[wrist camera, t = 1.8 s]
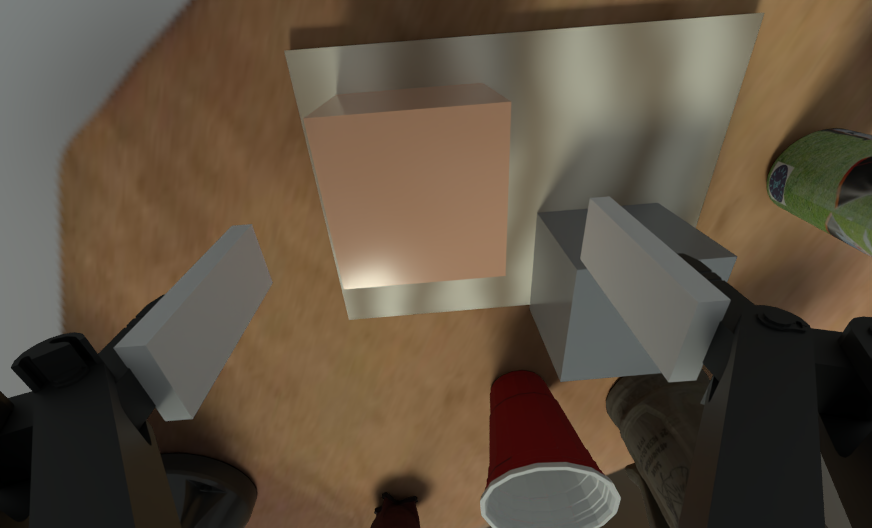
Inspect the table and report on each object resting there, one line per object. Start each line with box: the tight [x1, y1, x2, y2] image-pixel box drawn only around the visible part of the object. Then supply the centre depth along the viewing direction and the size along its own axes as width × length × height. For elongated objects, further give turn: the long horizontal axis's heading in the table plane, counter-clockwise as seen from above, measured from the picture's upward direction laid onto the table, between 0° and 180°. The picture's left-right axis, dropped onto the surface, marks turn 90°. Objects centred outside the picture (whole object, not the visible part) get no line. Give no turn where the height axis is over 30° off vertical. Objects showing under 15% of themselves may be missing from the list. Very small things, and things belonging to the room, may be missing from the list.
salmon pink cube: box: [303, 83, 511, 289], centre depth 22 cm, size 9×9×8 cm
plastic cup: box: [480, 370, 621, 528], centre depth 34 cm, size 11×11×12 cm
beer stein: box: [606, 369, 828, 528], centre depth 34 cm, size 15×11×20 cm
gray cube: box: [530, 203, 737, 382], centre depth 27 cm, size 9×9×8 cm
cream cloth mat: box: [284, 13, 764, 320], centre depth 27 cm, size 28×20×1 cm
